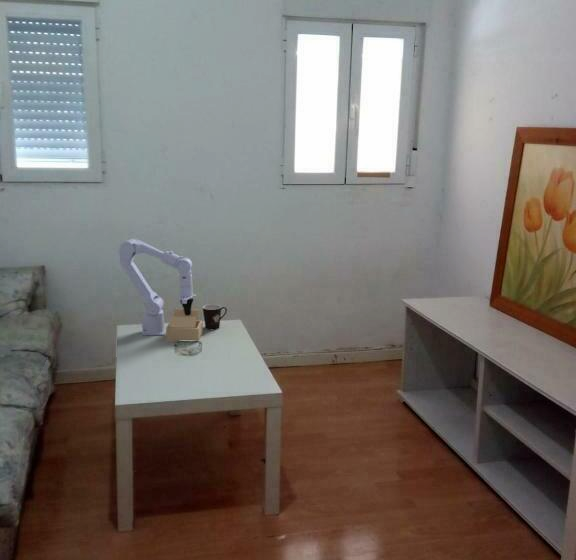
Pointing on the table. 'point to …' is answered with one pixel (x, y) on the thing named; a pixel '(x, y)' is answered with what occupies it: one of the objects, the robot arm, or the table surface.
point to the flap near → (182, 322)
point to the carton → (184, 333)
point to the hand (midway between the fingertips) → (187, 314)
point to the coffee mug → (212, 316)
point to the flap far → (181, 314)
